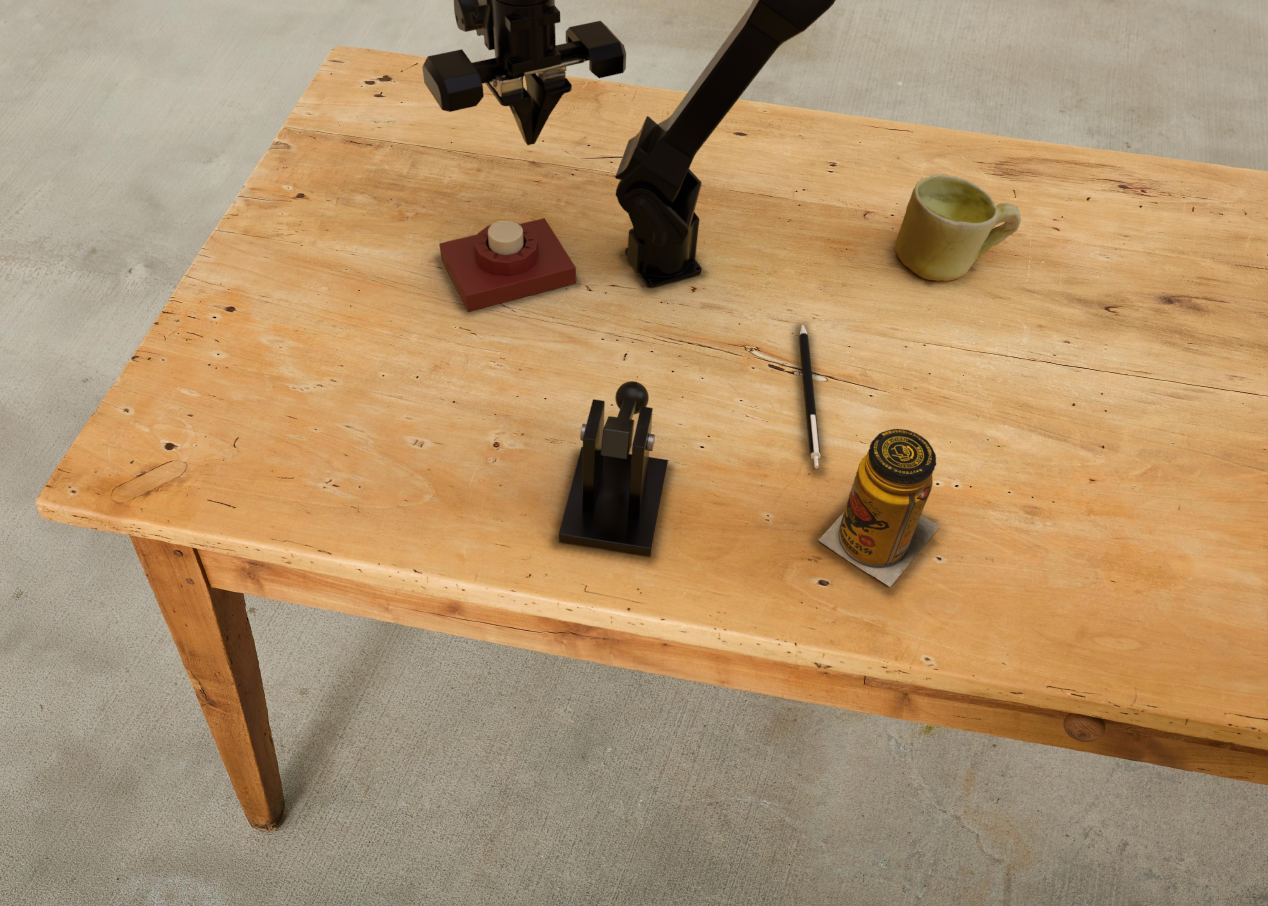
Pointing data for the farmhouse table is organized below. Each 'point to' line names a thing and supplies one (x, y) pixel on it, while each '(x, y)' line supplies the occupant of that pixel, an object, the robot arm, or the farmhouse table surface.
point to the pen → (809, 397)
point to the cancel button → (505, 237)
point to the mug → (951, 227)
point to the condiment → (887, 506)
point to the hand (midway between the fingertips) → (529, 142)
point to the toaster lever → (623, 420)
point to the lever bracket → (614, 490)
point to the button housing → (507, 266)
